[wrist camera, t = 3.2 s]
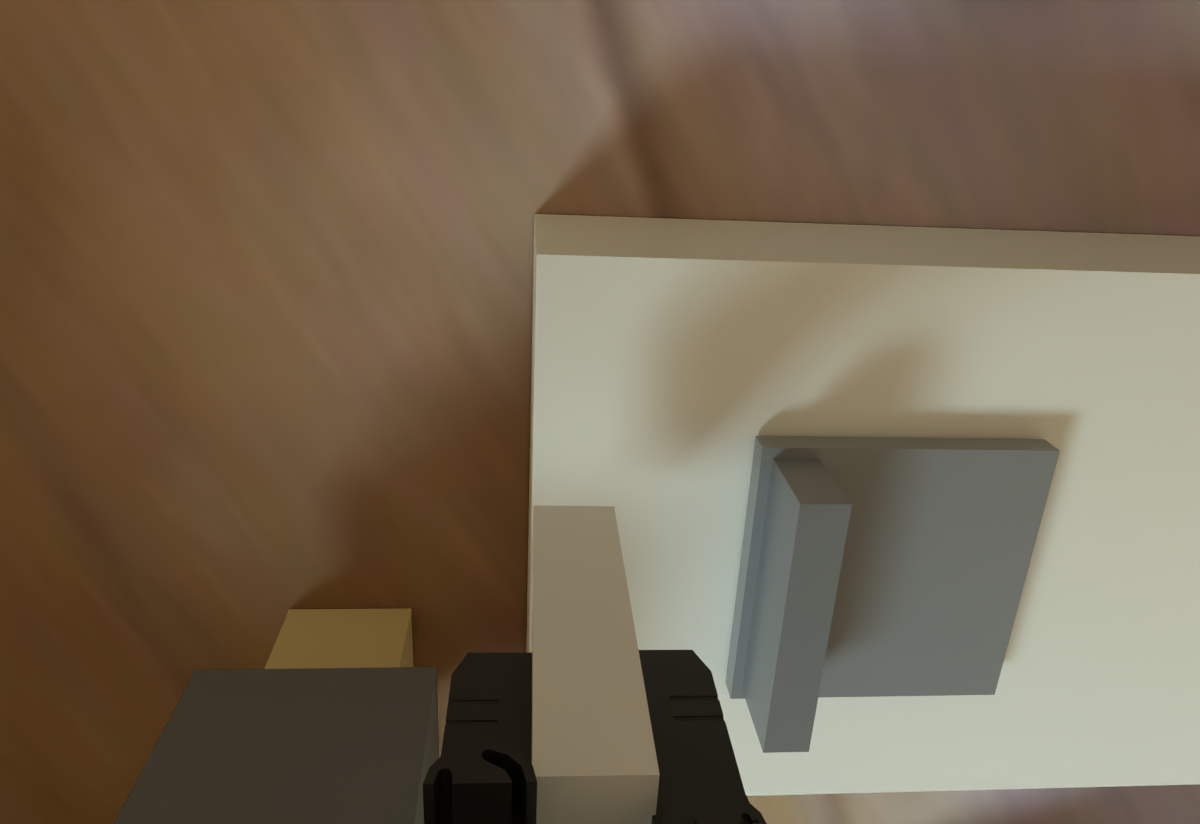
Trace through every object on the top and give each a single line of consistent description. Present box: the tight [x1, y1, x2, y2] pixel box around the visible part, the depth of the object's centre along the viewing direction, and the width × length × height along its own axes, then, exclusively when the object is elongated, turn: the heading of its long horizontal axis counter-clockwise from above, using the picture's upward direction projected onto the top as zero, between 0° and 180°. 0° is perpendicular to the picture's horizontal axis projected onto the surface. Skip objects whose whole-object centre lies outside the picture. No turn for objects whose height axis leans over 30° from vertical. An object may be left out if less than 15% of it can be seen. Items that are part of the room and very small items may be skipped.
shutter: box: [725, 436, 1060, 753], centre depth 19 cm, size 6×6×3 cm
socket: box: [526, 214, 1200, 796], centre depth 23 cm, size 22×14×4 cm, turn 87°
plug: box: [114, 608, 439, 824], centre depth 21 cm, size 6×6×10 cm
